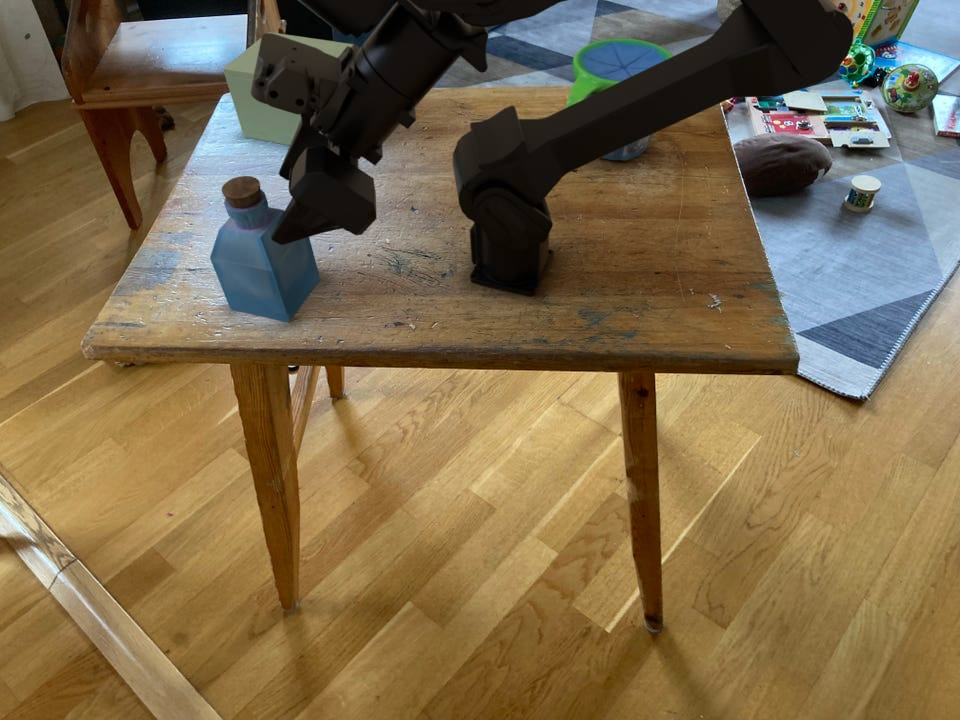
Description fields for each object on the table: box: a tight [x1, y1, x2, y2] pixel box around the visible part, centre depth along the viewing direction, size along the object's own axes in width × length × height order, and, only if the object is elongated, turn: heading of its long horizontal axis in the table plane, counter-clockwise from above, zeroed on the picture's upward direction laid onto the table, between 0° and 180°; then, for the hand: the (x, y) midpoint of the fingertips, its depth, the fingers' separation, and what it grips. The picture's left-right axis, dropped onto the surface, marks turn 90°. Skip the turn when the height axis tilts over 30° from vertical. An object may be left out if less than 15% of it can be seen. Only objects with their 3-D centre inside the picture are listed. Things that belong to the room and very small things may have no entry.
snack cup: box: [564, 38, 674, 162], centre depth 81 cm, size 16×10×10 cm
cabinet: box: [222, 31, 355, 146], centre depth 88 cm, size 12×10×9 cm
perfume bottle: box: [209, 175, 321, 324], centre depth 66 cm, size 6×6×12 cm
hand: (279, 207), depth 63 cm, fingers open, 9 cm apart
